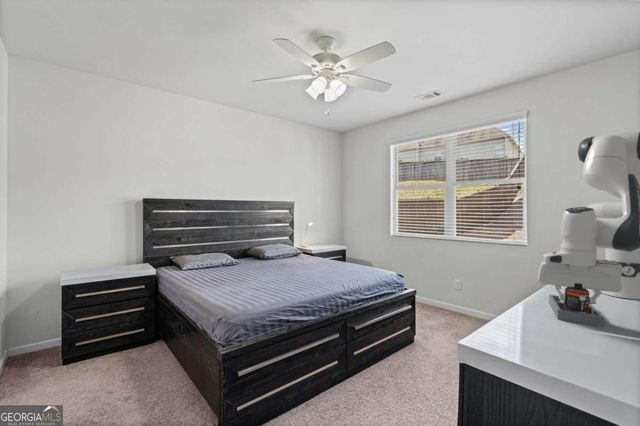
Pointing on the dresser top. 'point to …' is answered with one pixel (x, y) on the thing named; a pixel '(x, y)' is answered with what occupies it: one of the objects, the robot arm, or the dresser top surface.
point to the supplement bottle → (577, 299)
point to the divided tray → (575, 313)
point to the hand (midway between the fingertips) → (576, 301)
